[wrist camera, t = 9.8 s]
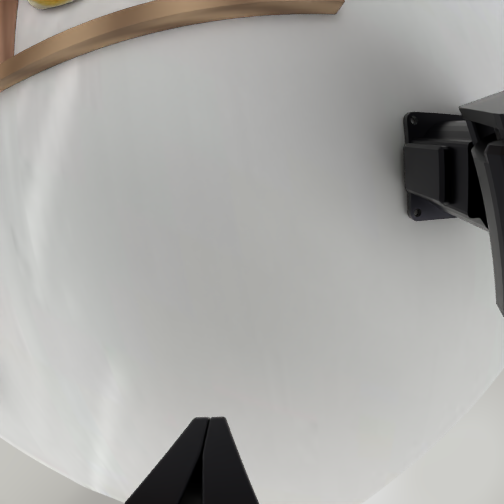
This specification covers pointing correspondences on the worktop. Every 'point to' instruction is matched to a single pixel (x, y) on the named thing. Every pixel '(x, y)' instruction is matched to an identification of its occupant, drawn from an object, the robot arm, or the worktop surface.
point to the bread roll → (47, 3)
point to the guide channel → (131, 28)
